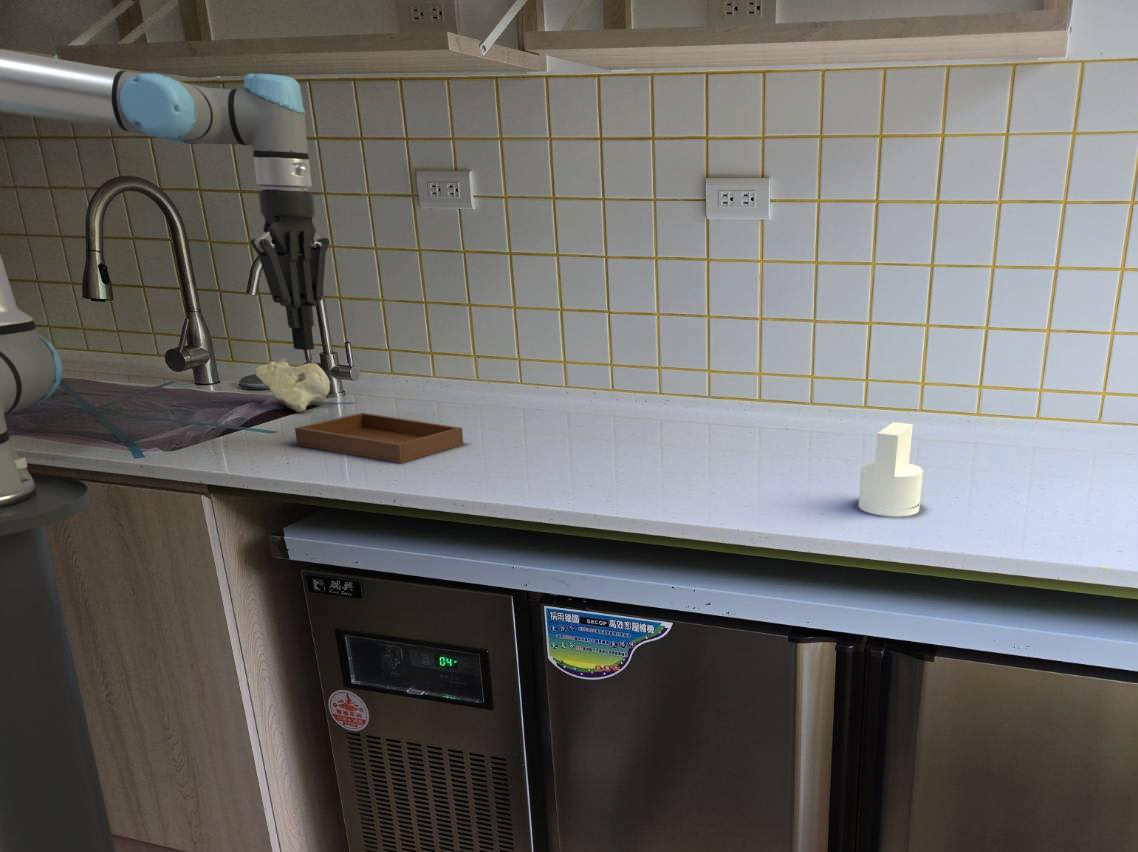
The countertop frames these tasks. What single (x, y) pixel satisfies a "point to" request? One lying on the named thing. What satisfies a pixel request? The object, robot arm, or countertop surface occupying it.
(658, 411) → the countertop surface
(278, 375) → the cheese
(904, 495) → the cylinder with rectangular tab
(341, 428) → the tray
